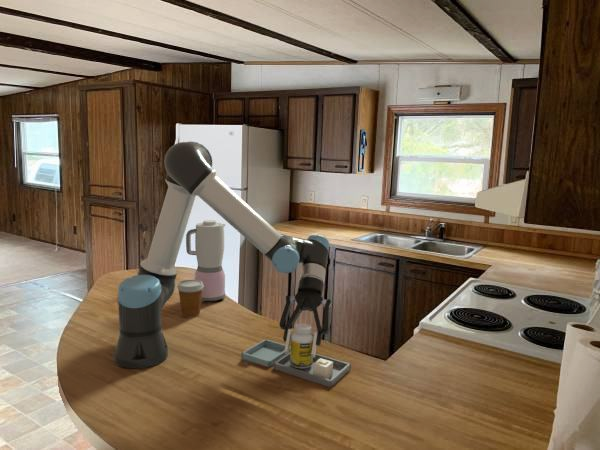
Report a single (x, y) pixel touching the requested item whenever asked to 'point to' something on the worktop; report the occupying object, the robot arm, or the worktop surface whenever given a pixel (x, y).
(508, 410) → the worktop surface
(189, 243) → the blender
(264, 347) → the slate tray
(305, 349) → the pill bottle
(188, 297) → the disposable coffee cup
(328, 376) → the letter cube
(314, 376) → the charcoal tray
